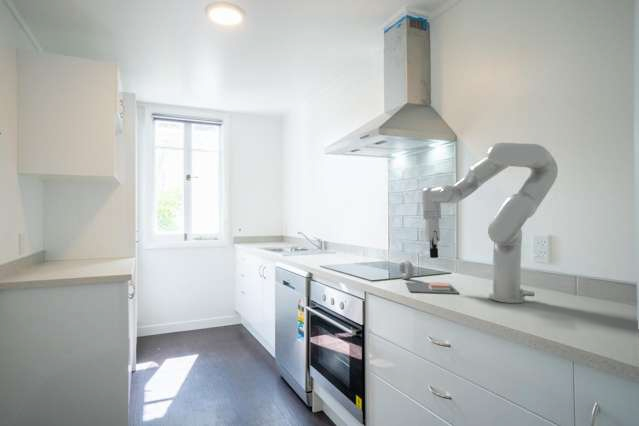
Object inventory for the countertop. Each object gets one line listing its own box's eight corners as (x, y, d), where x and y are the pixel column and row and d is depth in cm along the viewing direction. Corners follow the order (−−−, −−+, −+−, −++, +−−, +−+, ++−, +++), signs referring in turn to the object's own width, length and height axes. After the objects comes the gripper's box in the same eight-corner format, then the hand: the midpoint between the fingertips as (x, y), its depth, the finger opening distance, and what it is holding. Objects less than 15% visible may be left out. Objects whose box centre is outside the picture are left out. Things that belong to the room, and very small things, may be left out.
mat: (449, 284, 172) (449, 283, 172) (459, 294, 152) (459, 292, 152) (405, 283, 175) (405, 282, 175) (410, 292, 155) (410, 291, 155)
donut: (396, 278, 189) (396, 258, 189) (402, 277, 191) (402, 258, 191) (409, 281, 180) (409, 261, 180) (415, 280, 182) (415, 260, 182)
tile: (447, 282, 163) (450, 285, 157) (447, 287, 163) (450, 290, 157) (428, 282, 165) (431, 285, 158) (428, 286, 165) (431, 289, 158)
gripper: (421, 216, 169) (423, 256, 169) (425, 215, 154) (427, 259, 154) (437, 215, 168) (439, 255, 167) (444, 215, 153) (446, 259, 153)
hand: (434, 257), depth 161 cm, fingers closed
